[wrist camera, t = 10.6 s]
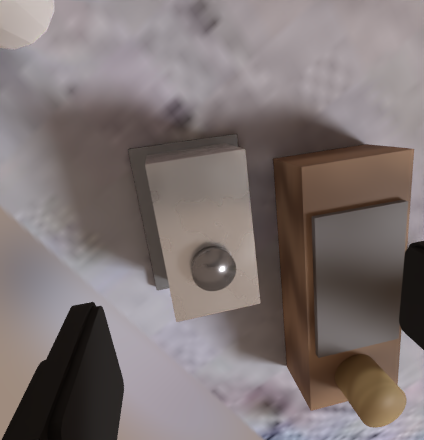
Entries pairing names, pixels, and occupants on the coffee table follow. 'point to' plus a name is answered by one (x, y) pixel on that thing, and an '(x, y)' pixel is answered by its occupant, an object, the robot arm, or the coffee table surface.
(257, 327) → the coffee table surface
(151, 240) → the rubber mat
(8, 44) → the white cylinder
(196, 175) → the grey box with knob
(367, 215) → the hand plane
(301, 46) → the coffee table surface
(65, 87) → the coffee table surface
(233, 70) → the coffee table surface
